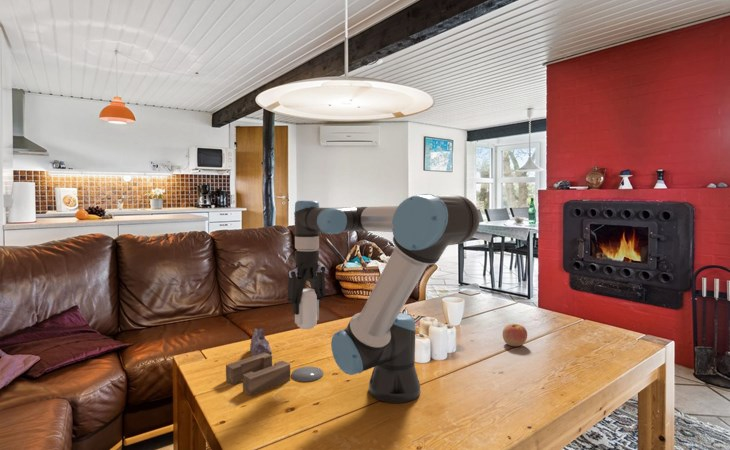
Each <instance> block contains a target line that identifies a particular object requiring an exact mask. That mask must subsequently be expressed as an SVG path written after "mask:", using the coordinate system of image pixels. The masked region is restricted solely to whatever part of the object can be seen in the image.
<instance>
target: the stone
mask: <svg viewBox="0 0 730 450" xmlns="http://www.w3.org/2000/svg"><path fill="white" fill-rule="evenodd" d="M253 331H254V332H253V335H252V337H251V340H250V343H249V344H250V346H249V347H250V348H249V350H250V354H251V357H252V356H255V355H258V354H261V353H264V352H265V353H267V354H270V355H272V350H271V345H270V342H269V340H268V339H266V338H265V337H266V336H265V333H264V328H254V330H253Z"/></svg>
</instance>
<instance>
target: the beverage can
mask: <svg viewBox="0 0 730 450" xmlns="http://www.w3.org/2000/svg"><path fill="white" fill-rule="evenodd" d="M300 304H302V325H298V324H296V326H297V327H298V328H300V329H301V330H312V329H314V328H315V327H316V326H317V323H318V320H317V295H316V293H315V290H314V289H311V288H307V287H306V288H303V292H302V297H301V301H300Z"/></svg>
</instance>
